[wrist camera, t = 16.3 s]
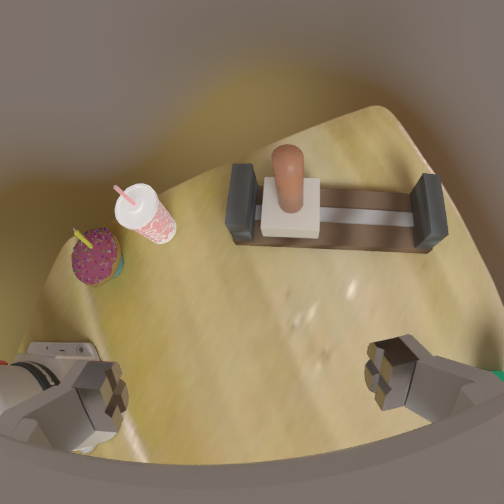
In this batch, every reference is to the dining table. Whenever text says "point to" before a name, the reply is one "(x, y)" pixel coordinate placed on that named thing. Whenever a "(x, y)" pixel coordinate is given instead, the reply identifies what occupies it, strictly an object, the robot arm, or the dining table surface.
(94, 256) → the cupcake
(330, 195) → the rail
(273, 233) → the peach cylinder post
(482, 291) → the dining table surface
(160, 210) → the beverage cup
